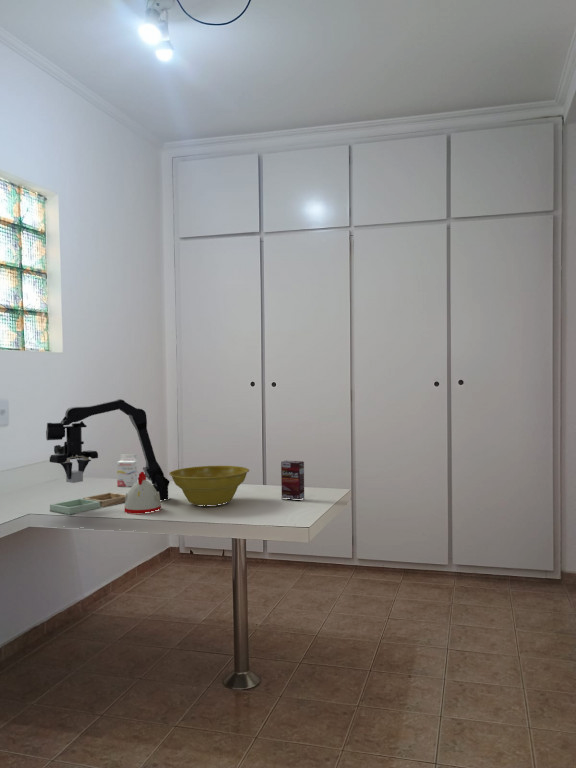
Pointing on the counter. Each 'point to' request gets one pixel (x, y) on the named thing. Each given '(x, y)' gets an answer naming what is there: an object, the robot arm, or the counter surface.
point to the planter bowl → (209, 483)
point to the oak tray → (107, 499)
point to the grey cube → (75, 477)
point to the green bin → (74, 506)
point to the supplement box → (292, 479)
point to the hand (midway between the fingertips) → (74, 478)
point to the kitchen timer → (142, 497)
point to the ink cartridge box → (127, 470)
